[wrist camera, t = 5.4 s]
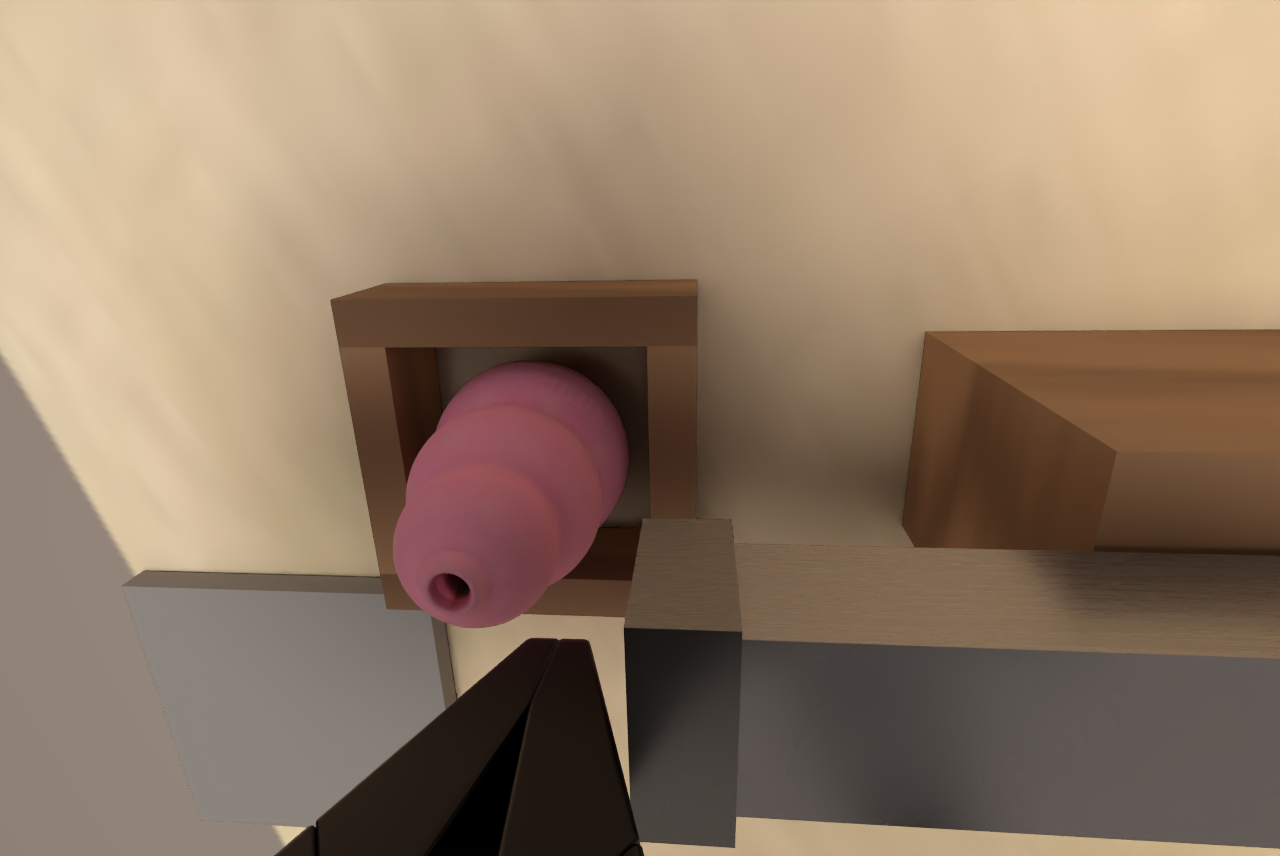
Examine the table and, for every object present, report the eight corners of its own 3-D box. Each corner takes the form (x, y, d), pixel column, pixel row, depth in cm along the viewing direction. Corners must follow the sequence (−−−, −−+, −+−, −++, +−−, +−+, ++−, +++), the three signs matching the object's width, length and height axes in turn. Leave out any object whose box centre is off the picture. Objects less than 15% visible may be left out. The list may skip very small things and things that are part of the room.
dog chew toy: (638, 509, 17) (599, 711, 11) (474, 507, 18) (337, 700, 11) (632, 343, 16) (583, 456, 9) (454, 345, 16) (280, 454, 10)
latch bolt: (1698, 740, 9) (2042, 930, 6) (647, 694, 10) (632, 841, 8) (1830, 540, 8) (2295, 685, 5) (642, 518, 9) (624, 627, 7)
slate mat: (473, 815, 22) (465, 837, 21) (216, 799, 22) (200, 820, 22) (438, 579, 19) (427, 595, 18) (143, 571, 19) (120, 586, 19)
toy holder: (1354, 579, 16) (1841, 868, 9) (426, 556, 18) (260, 777, 11) (1479, 269, 14) (2272, 350, 7) (384, 283, 16) (139, 356, 9)
